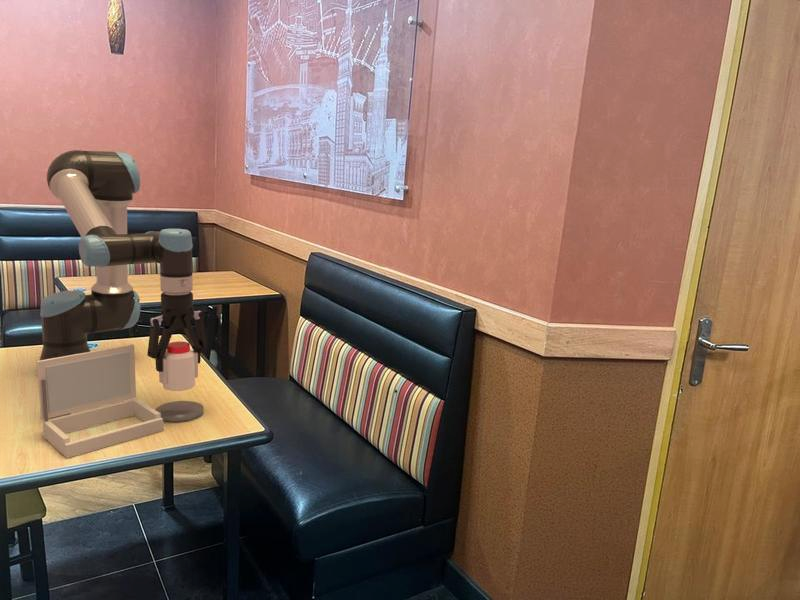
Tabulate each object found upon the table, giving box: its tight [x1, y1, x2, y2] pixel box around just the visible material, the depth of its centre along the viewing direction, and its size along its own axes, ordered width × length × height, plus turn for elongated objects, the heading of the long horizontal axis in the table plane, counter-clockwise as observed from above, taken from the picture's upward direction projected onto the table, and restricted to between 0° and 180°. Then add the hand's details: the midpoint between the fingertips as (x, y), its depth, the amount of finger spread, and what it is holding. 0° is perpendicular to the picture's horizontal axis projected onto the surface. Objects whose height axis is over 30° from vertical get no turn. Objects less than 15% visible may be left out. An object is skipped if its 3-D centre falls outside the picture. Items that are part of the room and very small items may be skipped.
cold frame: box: [36, 343, 164, 459], centre depth 147 cm, size 15×22×18 cm
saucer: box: [154, 400, 205, 424], centre depth 163 cm, size 12×12×1 cm
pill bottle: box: [162, 341, 196, 392], centre depth 160 cm, size 8×8×11 cm
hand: (179, 379), depth 161 cm, fingers closed on pill bottle, 8 cm apart
